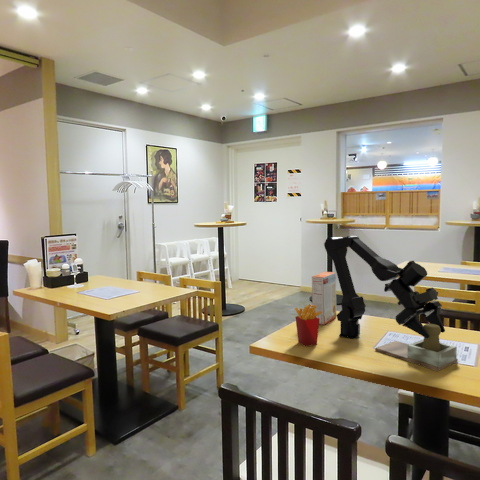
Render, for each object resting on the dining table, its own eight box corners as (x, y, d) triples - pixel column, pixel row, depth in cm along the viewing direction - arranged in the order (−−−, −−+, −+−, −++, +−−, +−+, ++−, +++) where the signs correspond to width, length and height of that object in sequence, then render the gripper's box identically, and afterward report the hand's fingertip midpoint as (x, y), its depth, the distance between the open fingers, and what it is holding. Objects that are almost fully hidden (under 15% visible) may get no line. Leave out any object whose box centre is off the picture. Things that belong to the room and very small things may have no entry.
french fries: (294, 342, 148) (294, 302, 147) (313, 338, 151) (313, 300, 150) (307, 349, 140) (307, 307, 139) (327, 346, 143) (327, 305, 142)
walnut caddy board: (375, 350, 138) (375, 336, 137) (396, 343, 144) (396, 329, 144) (437, 371, 120) (437, 354, 119) (457, 361, 126) (457, 346, 126)
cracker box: (324, 316, 183) (324, 271, 182) (336, 317, 180) (336, 272, 178) (311, 323, 172) (311, 275, 170) (324, 325, 168) (324, 276, 167)
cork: (446, 360, 125) (446, 326, 124) (428, 362, 124) (428, 327, 123) (434, 354, 131) (434, 321, 130) (417, 355, 130) (417, 322, 129)
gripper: (404, 283, 123) (438, 326, 115) (436, 276, 134) (470, 315, 126) (382, 303, 130) (413, 345, 122) (414, 296, 141) (444, 333, 133)
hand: (436, 334), depth 125 cm, fingers open, 9 cm apart
